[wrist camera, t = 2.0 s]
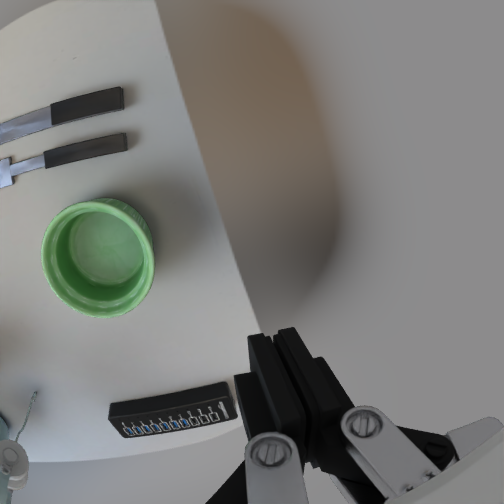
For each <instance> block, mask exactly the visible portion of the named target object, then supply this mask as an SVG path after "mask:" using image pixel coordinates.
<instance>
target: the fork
mask: <svg viewBox="0 0 504 504" xmlns="http://www.w3.org/2000/svg"><path fill="white" fill-rule="evenodd" d="M127 150H128V149H127V140H126V133H120V134H115V135H110V136H105V137H101V138H96V139H92V140H87V141H83V142H79V143H75V144H71V145H67V146H63V147H59V148H55V149H52V150H48V151H45V152H43V153H44V155H41V156H37V157H34V158H31V159H27V160H24V161H21V162H18V163H15V164H12V163H11V157H8V158H5V159H3V160H0V188H3V187H6V186H9V185H12V184H14V178H13V176H15V175H18V174H21V173H24V172H28V171H31V170H34V169H38V168H42V167H45V168H46V169H47V168H51V167H55V166H58V165H62V164H66V163H71V162H75V161H79V160H83V159H88V158H92V157H97V156H102V155H107V154H112V153H117V152H122V151H127Z"/></svg>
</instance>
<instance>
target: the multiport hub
mask: <svg viewBox="0 0 504 504" xmlns="http://www.w3.org/2000/svg"><path fill="white" fill-rule="evenodd" d="M237 417H238V415H237V411H236V407H235V403H234V400H233V397H232V395H231V392H230V389H229V386H228V384H227V383H226V382H221V383H217V384H212V385H208V386H204V387H199V388H195V389H190V390H186V391H181V392H176V393H171V394H166V395H161V396H155V397H150V398H144V399H138V400H131V401H125V402H118V403H111V404H110V409H109V416H108V420H109V421H110V422H111V424H112V425H113V426H114V427H115V428H116V430H117V431H118V432H119V433H120V434H121V436H122V437H124V438H133V437H141V436H149V435H156V434H163V433H169V432H175V431H181V430H187V429H192V428H197V427H202V426H207V425H211V424H216V423H220V422H225V421H229V420H233V419H236V418H237Z"/></svg>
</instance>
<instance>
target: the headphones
mask: <svg viewBox="0 0 504 504" xmlns="http://www.w3.org/2000/svg"><path fill="white" fill-rule="evenodd" d="M35 397H36V392H34V394H33V396H32V399H31V402H30V406H29V409H28V413H27V416H26V419H25V422H24V425H23V427H22V429H21V430H20V431H19V433H18V435H17V437H16V440H15V441H12V440H2V441H0V504H11V497H12V492H13V490H20V489H22V488H23V487H24V486H25V485H26V483H27V480H28V469H29V461H28V456H27V454H26V452H25V450H24V449H23V448H22V446H21V445H19V444H18V443H17V440H18V437H19V435H20V433H21V432H22V431H23V429H24V427H25V425H26V422H27V419H28V415H29V412H30V408H31V405H32V402H35Z"/></svg>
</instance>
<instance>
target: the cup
mask: <svg viewBox="0 0 504 504" xmlns="http://www.w3.org/2000/svg"><path fill="white" fill-rule="evenodd" d="M2 440H9V431H8V427H7V425H6V423H5V422H4V420H3V419H2V418H1V417H0V441H2Z"/></svg>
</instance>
